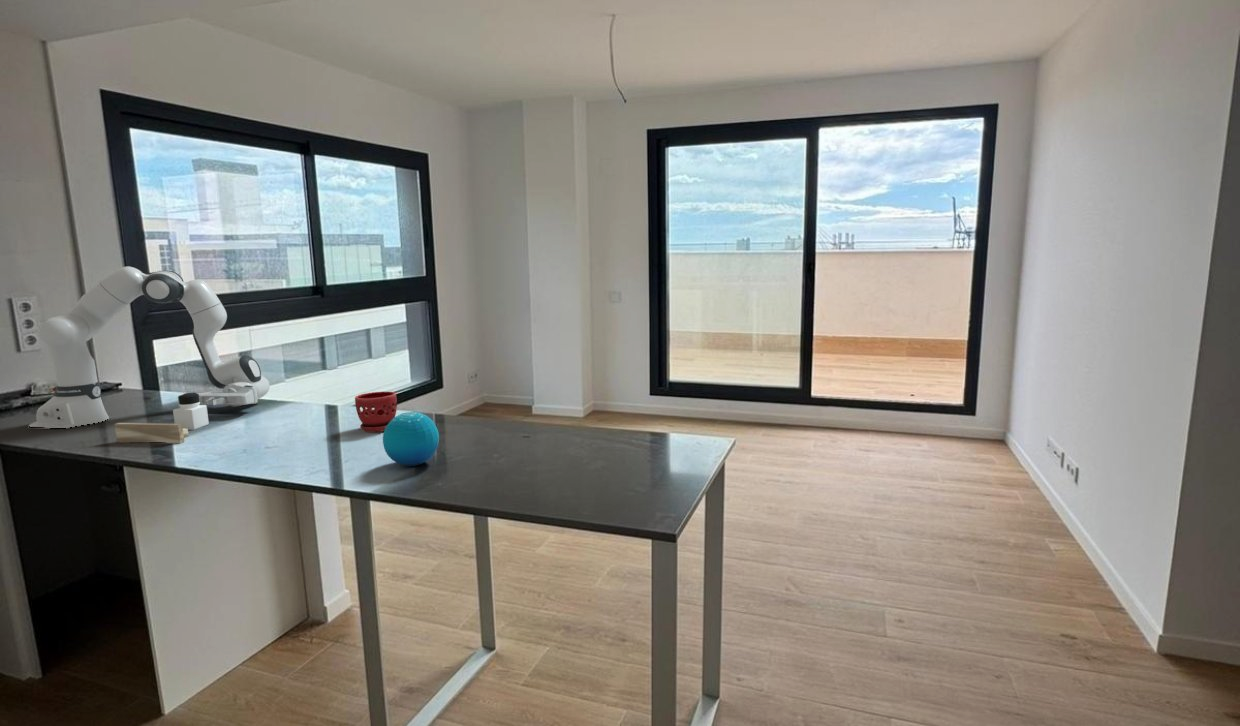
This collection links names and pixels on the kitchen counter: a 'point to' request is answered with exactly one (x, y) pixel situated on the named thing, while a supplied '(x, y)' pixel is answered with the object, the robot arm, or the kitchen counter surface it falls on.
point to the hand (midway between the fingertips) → (209, 403)
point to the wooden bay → (150, 432)
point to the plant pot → (376, 410)
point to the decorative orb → (410, 438)
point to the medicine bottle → (190, 412)
